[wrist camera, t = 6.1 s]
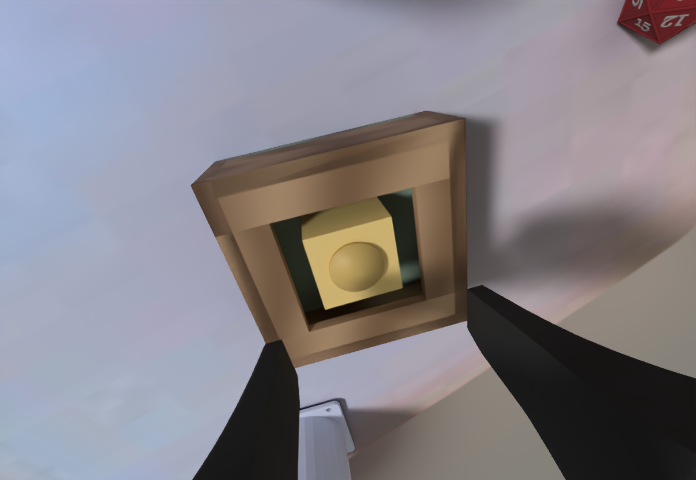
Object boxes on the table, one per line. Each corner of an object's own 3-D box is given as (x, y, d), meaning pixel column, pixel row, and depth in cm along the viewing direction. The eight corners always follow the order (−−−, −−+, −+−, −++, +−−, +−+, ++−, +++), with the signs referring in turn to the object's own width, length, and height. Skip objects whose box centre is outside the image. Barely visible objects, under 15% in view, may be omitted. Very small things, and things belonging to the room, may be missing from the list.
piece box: (282, 321, 22) (279, 372, 18) (215, 161, 16) (190, 185, 12) (438, 280, 23) (467, 320, 19) (426, 110, 17) (465, 118, 13)
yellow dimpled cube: (319, 269, 20) (325, 313, 16) (300, 209, 18) (302, 243, 14) (383, 252, 20) (404, 291, 16) (372, 190, 18) (393, 219, 14)
